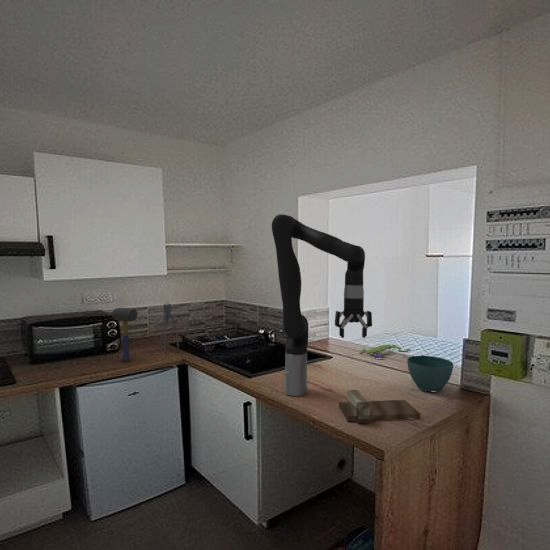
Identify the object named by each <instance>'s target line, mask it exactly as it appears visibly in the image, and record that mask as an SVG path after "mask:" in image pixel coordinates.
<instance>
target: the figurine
mask: <svg viewBox="0 0 550 550" xmlns="http://www.w3.org/2000/svg"><path fill="white" fill-rule="evenodd" d="M391 349H392V350H394V349H398V350H397V352H399V353H408V352H412V349H410V348H407V349H406V350H402V347H400V346H397V345H396V344H392V345H391V344H382V345H377V346H374V347H372V348H369V349H367V350H366V348H363V349H362V350H360V351H359V352H361V354H363V353H366V354H370V353H373V354H372V356H373V355H375V354H376V355H375V356H374V359H375V358H383V359H384V354H385V353H384V351H386V350H391Z"/></svg>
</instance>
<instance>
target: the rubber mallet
mask: <svg viewBox="0 0 550 550" xmlns="http://www.w3.org/2000/svg"><path fill="white" fill-rule="evenodd" d="M111 314H112V318H113V320H114V321H120V322H122V338H121V347H122V356H121V357H122V361H123V362H129V361H130V360H131V356H130V337H129V331H128V330H129V329H128V327H129V325H128V322H134V321H136V320H137V318H138V311H137V309H135V308H132V307H131V308H130V307H116V308H114V309H113V310H112V313H111Z"/></svg>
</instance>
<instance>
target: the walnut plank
mask: <svg viewBox="0 0 550 550" xmlns="http://www.w3.org/2000/svg"><path fill="white" fill-rule="evenodd" d="M367 401H368V403H369V404H370V420H383V421H394V420H393V419H404V420H408V419H407V418H420V419H421V413H420V412H419V411H418V410H417V409H416V408H415V407H414V406H412V405H411V404H410V403H409V402H408V401H407V400H405V399H393V400H390V399H389V400H367ZM338 408H339V410H340V411H342V412H341V413H342V415H343V414H344V415H343V416H344V418H345V417H346V418H345V419H347V420H346V421H347V422H348V421H357V416H356V415H355V413H354V412H353V411H352V409H351V408H350V406H349V405H348V403H347V401H344V402H338Z"/></svg>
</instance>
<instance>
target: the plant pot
mask: <svg viewBox="0 0 550 550" xmlns="http://www.w3.org/2000/svg"><path fill="white" fill-rule="evenodd" d="M406 360H407V361H406V362H407V363H406V364H407V367H408V372H409V374H410V377H411V379H412V381H413V383H414V384H415V386H416V387H418V389H419V388H420V390H421V389H422V390H421V391H423V390H426V391H439V390H440V391H442V389H444V387H446V385H447V384H448V382H449V380H450V379H451V377H452V373H453V369H454V363H453V362H452V360H449V359H447V358H443V357H437V356H431V355H424V356H422V355H413V356H409V357H408V358H407V359H406ZM426 391H425V392H426ZM440 391H439V392H440Z"/></svg>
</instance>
